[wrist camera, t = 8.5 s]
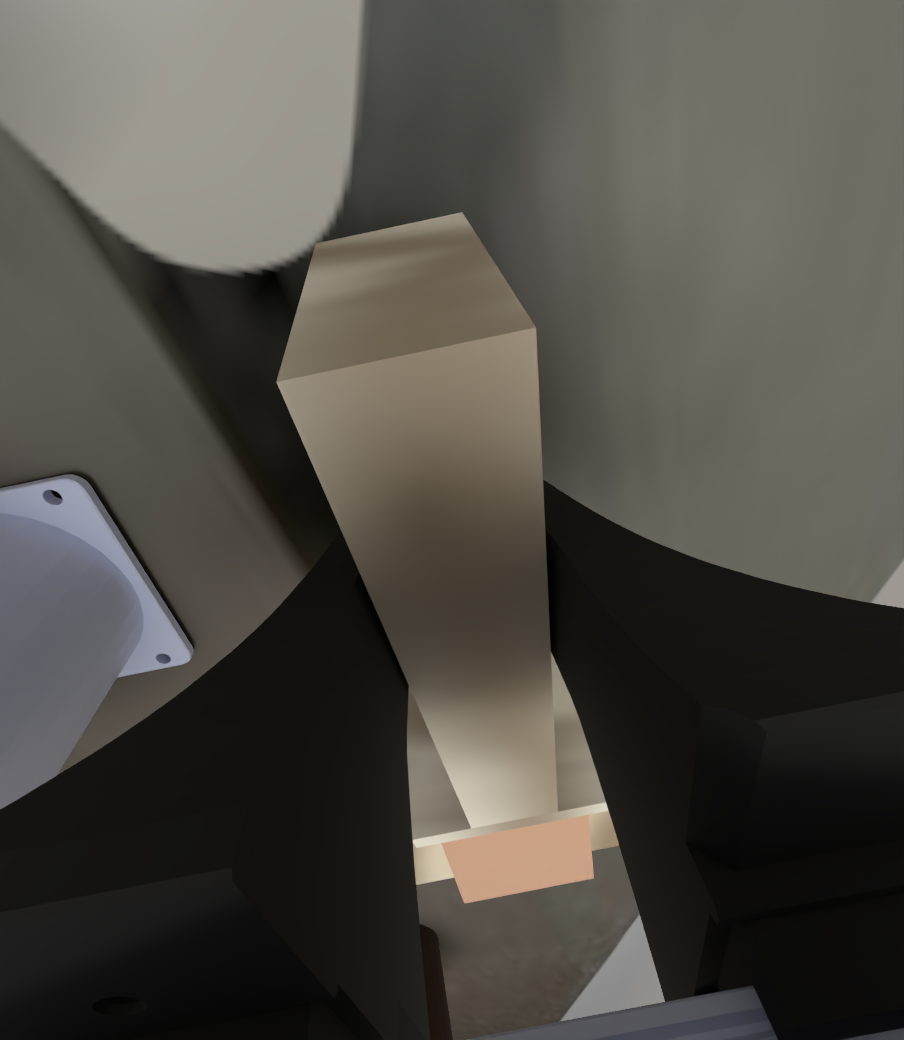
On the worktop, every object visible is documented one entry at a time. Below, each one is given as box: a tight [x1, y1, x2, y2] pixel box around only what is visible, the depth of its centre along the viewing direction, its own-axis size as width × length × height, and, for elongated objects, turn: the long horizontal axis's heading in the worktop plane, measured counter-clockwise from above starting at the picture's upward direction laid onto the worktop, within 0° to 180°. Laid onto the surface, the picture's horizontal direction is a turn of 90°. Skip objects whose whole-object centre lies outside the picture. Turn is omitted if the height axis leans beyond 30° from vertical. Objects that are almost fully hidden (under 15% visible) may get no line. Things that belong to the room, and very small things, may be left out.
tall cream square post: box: [277, 212, 609, 848], centre depth 12 cm, size 6×15×5 cm, turn 10°
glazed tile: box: [441, 815, 594, 903], centre depth 25 cm, size 7×2×9 cm
